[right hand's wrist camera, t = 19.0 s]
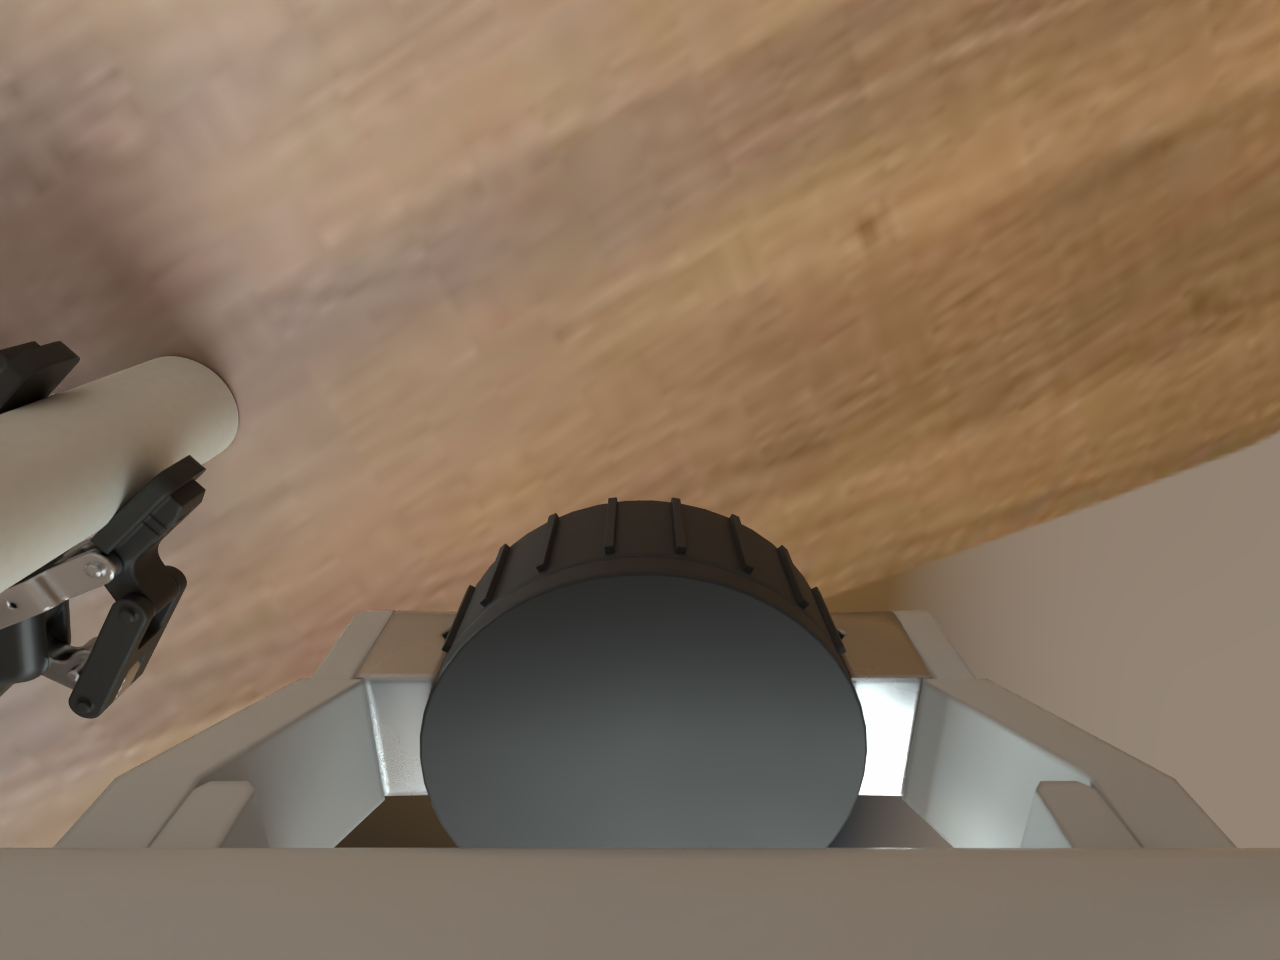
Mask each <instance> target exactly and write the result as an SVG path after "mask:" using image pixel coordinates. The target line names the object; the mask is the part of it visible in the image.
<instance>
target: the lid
mask: <svg viewBox="0 0 1280 960" xmlns="http://www.w3.org/2000/svg"><path fill="white" fill-rule="evenodd" d="M441 650H442V651H444V652H446V655H445V658H444V660H443V662H442V665H441V667H440V670H439V673H438V674H437V677H436V679H435V682H434V684H433V687H432V689H431V692H430V695H429V698H428V701H427V704H426V706H425V709H424V712H423V719H422V725H421V731H420V763H421V768H422V774H423V780H424V784H425V787H426V790H427V793H428V796H429V799H430V802H431V805H432V807H433V809H434V811H435V812H436V814H437V816H438V818H439V820H440V822H441V824H442V826H443V827H444V828H445V830H446V831H447V833H448V834H449V835H450V837H451V838H452V839H453V841H454V842H455V844H456V845H457V846H458V847H459V848H827V847H828V846H829V844H830V843H831V842H832V841H833V840H834V839H835V838H836V836H837V834H838V833H839V831H840V830H841V828H842V827H843V825H844V824H845V822H846V821H847V819H848V818H849V815H850V813H851V811H852V809H853V807H854V805H855V802H856V800H857V798H858V795H859V792H860V788H861V785H862V782H863V778H864V774H865V766H866V758H867V732H866V724H865V719H864V714H863V710H862V705H861V702H860V700H859V697H858V695H857V692H856V690H855V687H854V685H853V682H852V680H851V678H850V675H849V673H848V671H847V668H846V666H845V664H844V662H843V659H842V657H841V654H843V653H846V649H845V647H844V645H843V642H842V640H841V638H840V636H839V634H838V631H837V629H836V627H835V625H834V622H833V620H832V618H831V616H830V613H829V611H828V609H827V607H826V605H825V602H824V600H823V598H822V596H821V593H820V591H819V590H818V588H817V587H815V588H813V589H811V588H810V586H809V585H808V583H807V581H806V580H805V578H804V577H803V575H802V574H801V573H800V572H799V571H798V569H797V568H796V567H795V566H794V564H793V563H792V560H791V558H790V555H789V553H788V550H787V549H786V548H785V547H784V546H783V545H781V546H780V547H779V548H778V549H777V548H776V547H775V546H774V545H773V544H772V543H771V542H769V541H768V540H766V539H765V538H763V537H762V536H760V535H759V534H758V533H756V532H755V531H753V530H752V529H750V528H748V527H746V526H744V525H742V524H741V522H740V519H739V517H738V516H736V515H733V514H732V515H731V516H730V518H728V517H725V516H722V515H720V514H717V513H714V512H711V511H708V510H706V509H702V508H697V507H693V506H689V505H684V504H681V502H680V499H678V498H672V499H671V502H662V501H622V502H617V498H616V497H615V498H609V499H608V504H601V505H596V506H593V507H589V508H585V509H581V510H578V511H574V512H571V513H569V514H566V515H564V516H561V517H558V515H557V514H556V513H555V514H553V515H550V516H549V518H548V522H547V523H546V524H544V525H542V526H540V527H539V528H537V529H535V530H533V531H532V532H530V533H528V534H526V535H525V536H524V537H522V538H521V539H520V540H519V541H517V542H516V543H515V544H513V545H512V546H511V547H509V546H508V545H507V544H504V545H503V546H502V547H501V548H500V550H499V553H498V555H497V558H496V561H495V562H494V563H493V564H492V565H491V566H490V567H489V569H488V570H487V572H486V573H485V574H484V576H483V577H482V578H481V580H480V581H479V582H478V584H477V585H476V587H473V586H471V585H470V586H469V587H468V589H467V591H466V593H465V595H464V598H463V600H462V602H461V605H460V607H459V609H458V612H457V614H456V616H455V619H454V621H453V623H452V626H451V628H450V630H449V633H448V635H447V637H446V640H445V642H444V644H443V647H442V649H441Z"/></svg>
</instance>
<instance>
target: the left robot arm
mask: <svg viewBox="0 0 1280 960" xmlns="http://www.w3.org/2000/svg"><path fill="white" fill-rule="evenodd" d="M79 360H80V358H79V357H78V356H77V355H76V354H75V353H74V352H73V351H71V350H70V349H69V348H68V347H67V346H66V345H64V344H63V343H62V342H61V341H57V342H53V343H50V344H46V345H42V346H40V345H39V344H37V343H36V342H35V341H33V342H30V343H26V344H22V345H18V346H14V347H10V348H7V349H3V350H0V414H2V413H5V412H8V411H11V410H14V409H16V408H19V407H22V406H25V405H27V404H30V403H33V402H36V401H39V400H41V399H44V398H47V397H48V395H49V394H50V393H51V392H52V391H53V390H54V389H55V388H56V387H57V385H58V384H59V383H60V382H61V381H62V380H63V379H64V378H65V376H66V375H67V374H68V373H69V372H70V371H71V370H72V369H73V368H74V366H75V365H76V364H77V363H78V362H79ZM205 470H206V469H205V468H204V467H203V466H202V465H201V464H200V463H199V462H197V461H196V460H195V459H194V458H193V457H192V456H191V455H188V456H186V457H185V458H183V459H181V460H180V461H178V462H176V463H175V464H173V465H171V466H170V467H168V468H166V469H165V470H163V471H162V472H160V473H159V474H158V475H156V476H155V477H154V478H153V479H151V480H150V481H149V482H148V483H147V484H146V485H145V486H144V487H143V488H142V489H141V490H140V491H139V492H138V493H137V494H136V495H135V496H134V497H133V498H132V499H131V500H130V501H129V502H128V503H127V504H126V505H125V506H124V507H123V508H122V509H121V510H120V511H119V512H118V513H117V514H116V515H115V516H114V517H113V518H112V519H111V520H110V521H109V522H108V523H107V524H106V525H105V526H104V527H103V528H102V529H101V530H100V531H99V532H98V533H97V534H96V535H95V536H94V537H92V538H90V539H87V540H85V541H82V542H80V543H78V544H77V545H75V546H73V547H72V548H70V549H69V550H67V551H66V552H64V553H63V554H61V555H59V556H58V557H56V558H55V559H53V560H52V561H50V562H48V563H47V564H45V565H44V566H42V567H41V568H39V569H37V570H36V571H34V572H33V573H31V574H30V575H28V576H26V577H25V578H23V579H22V580H20V581H19V582H17V583H15V584H14V585H12V586H11V587H9V588H8V589H6V590H4V591H3V592H1V593H0V696H1V695H2V694H4V693H5V692H6V691H7V690H8V689H9V688H10V687H11V686H12V685H13V684H15V683H20V682H26V681H30V680H33V679H35V678H37V677H39V676H40V675H43V676H45V677H47V678H49V679H51V680H54V681H56V682H58V683H60V684H62V685H64V686H66V687H69V688H71V689H73V691H72V693H71V696H70V698H69V706H70V708H71V709H72V710H73V711H74V712H75V713H76V714H77V715H79V716H81V717H84V718H96V717H98V716H99V715H100V714H101V713H102V712H103V711H104V710H106V709H107V708H108V707H109V706H110V705H111V704H112V703H113V702H114V701H115V700H116V699H117V698H118V697H119V696H120V695H121V694H122V693H123V692H124V691H125V690H126V689H127V688H128V687H129V686H130V685H131V684H132V683H133V682H134V681H135V680H136V679H137V678H138V677H139V676H140V675H141V674H142V673H143V671H144V669H145V667H146V665H147V663H148V661H149V659H150V657H151V655H152V653H153V651H154V649H155V647H156V645H157V643H158V641H159V639H160V637H161V636H162V634H163V632H164V630H165V628H166V626H167V624H168V622H169V620H170V618H171V616H172V614H173V612H174V610H175V608H176V606H177V604H178V602H179V600H180V598H181V596H182V594H183V592H184V590H185V588H186V585H187V581H186V578H185V576H184V574H183V573H182V572H181V571H180V570H178V569H177V568H175V567H172V566H165V565H164V564H163V562H162V561H161V559H160V557H159V554H158V546H159V543H160V541H161V540H162V539H163V538H164V537H165V536H166V535H167V534H168V533H169V532H171V531H172V530H173V529H174V528H175V527H176V526H177V525H178V524H179V523H180V522H181V521H182V520H183V519H184V518H185V517H186V516H187V515H188V514H189V513H190V512H191V511H193V510H194V509H195V508H196V507H197V506H198V505H199V504H200V503H201V502H202V499H203V496H204V493H205V489H204V488H203V487H202V486H201V485H200V484H198V483H197V482H196V481H195V480H196V479H197V478H198V477H199V476H200V475H201V474H202V473H203V472H204V471H205ZM102 585H104V586H105V587H106V588H107V590H108V591H109V592H110V594H111V595H112V597H113V598H114V599H115V601H116V602H115V603H114V604H113V605H112V607H111V609H110V611H109V613H108V616H107V618H106V620H105V622H104V624H103V626H102V629H101V631H100V633H99V635H98V637H94V638H92V639H91V640H90V641H88V642H87V643H86V644H85V645H83V646H82V647H73V646H70V644H71V630H70V614H69V599H70V598H72V597H75V596H77V595H80V594H82V593H85V592H87V591H90V590H92V589H95V588H97V587H100V586H102Z"/></svg>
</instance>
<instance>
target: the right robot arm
mask: <svg viewBox="0 0 1280 960" xmlns="http://www.w3.org/2000/svg"><path fill="white" fill-rule="evenodd" d="M456 614H457V612H437V611H397V612H396V611H394V610H377V611H361V612H358V613H356V614H355V615H354V617H353V618H352V620H351V621H350V622H349V624H348V625H347V627H346V628H345V630H344V631H343V633H342V634H341V636H340V637H339V639H338V640H337V642H336V643H335V645H334V646H333V647H332V649H331V650H330V652H329V653H328V655H327V656H326V658H325V659H324V661H323V662H322V664H321V665H320V667H319V668H318V669H317V671H316V672H315V674H314V675H313V677H312V678H311V679H299V680H297V681H295V682H293V683H291V684H290V685H288V686H286V687H284V688H282V689H280V690H278V691H276V692H275V693H273V694H271V695H269V696H267V697H265V698H263V699H262V700H260V701H258V702H256V703H254V704H252V705H250V706H249V707H247V708H245V709H243V710H241V711H239V712H237V713H236V714H234V715H232V716H230V717H228V718H226V719H224V720H223V721H221V722H219V723H217V724H215V725H213V726H211V727H210V728H208V729H206V730H204V731H202V732H200V733H198V734H196V735H195V736H193V737H191V738H189V739H187V740H185V741H183V742H182V743H180V744H178V745H176V746H174V747H172V748H170V749H169V750H167V751H165V752H163V753H161V754H159V755H157V756H156V757H154V758H152V759H150V760H148V761H146V762H144V763H143V764H141V765H139V766H137V767H135V768H133V769H131V770H129V771H128V772H126V773H124V774H122V775H120V776H118V777H116V778H115V779H114V781H113V782H112V783H111V784H110V785H109V786H108V787H107V788H106V789H105V791H104V792H103V793H102V794H101V795H100V796H99V797H98V798H97V799H96V801H95V802H94V803H93V804H92V805H91V806H90V807H89V808H88V809H87V811H86V812H85V813H84V814H83V815H82V816H81V817H80V818H79V819H78V821H77V822H76V823H75V824H74V825H73V826H72V827H71V828H70V830H69V831H68V832H67V833H66V834H65V835H64V836H63V837H62V838H61V840H60V841H59V842H58V843H57V844H56V845H55V846H54V847H53V848H0V960H1280V848H1237V847H1236V846H1235V845H1234V844H1233V842H1232V841H1231V840H1230V839H1229V838H1228V837H1227V836H1226V835H1225V834H1224V833H1223V831H1222V830H1221V829H1220V828H1219V827H1218V826H1217V825H1216V824H1215V823H1214V821H1213V820H1212V819H1211V818H1210V817H1209V816H1208V815H1207V814H1206V813H1205V812H1204V810H1203V809H1202V808H1201V807H1200V806H1199V805H1198V804H1197V803H1196V802H1195V801H1194V800H1193V798H1192V797H1191V796H1190V795H1189V794H1188V793H1187V792H1186V791H1185V790H1184V788H1183V787H1182V786H1181V785H1180V784H1179V783H1178V782H1177V781H1176V780H1175V779H1174V778H1172V777H1170V776H1168V775H1167V774H1165V773H1163V772H1161V771H1159V770H1157V769H1155V768H1154V767H1152V766H1150V765H1148V764H1146V763H1144V762H1142V761H1140V760H1139V759H1137V758H1135V757H1133V756H1131V755H1129V754H1127V753H1125V752H1124V751H1122V750H1120V749H1118V748H1116V747H1114V746H1112V745H1110V744H1109V743H1107V742H1105V741H1103V740H1101V739H1099V738H1097V737H1095V736H1094V735H1092V734H1090V733H1088V732H1086V731H1084V730H1082V729H1080V728H1079V727H1077V726H1075V725H1073V724H1071V723H1069V722H1067V721H1066V720H1064V719H1062V718H1060V717H1058V716H1056V715H1054V714H1052V713H1051V712H1049V711H1047V710H1045V709H1043V708H1041V707H1039V706H1037V705H1036V704H1034V703H1032V702H1030V701H1028V700H1026V699H1024V698H1022V697H1021V696H1019V695H1017V694H1015V693H1013V692H1011V691H1009V690H1007V689H1006V688H1004V687H1002V686H1000V685H998V684H996V683H994V682H992V681H991V680H989V679H976V678H975V676H974V675H973V673H972V672H971V671H970V669H969V668H968V666H967V665H966V663H965V662H964V661H963V659H962V658H961V656H960V655H959V653H958V652H957V651H956V649H955V648H954V646H953V645H952V643H951V642H950V641H949V639H948V638H947V636H946V635H945V634H944V632H943V631H942V629H941V628H940V626H939V625H938V624H937V622H936V621H935V619H934V618H933V616H932V615H931V614H930V613H929V612H927V611H925V610H910V611H884V612H844V613H830V616H831V618H832V620H833V622H834V625H835V627H836V629H837V631H838V634H839V636H840V638H841V640H842V642H843V645H844V647H845V649H846V653H843V654H841V657H842V659H843V662H844V664H845V666H846V668H847V671H848V673H849V675H850V678H851V680H852V682H853V685H854V687H855V690H856V692H857V695H858V697H859V700H860V702H861V705H862V710H863V714H864V719H865V724H866V732H867V758H866V766H865V774H864V778H863V782H862V785H861V788H860V792H859V795H887V796H902V799H903V800H904V801H905V802H906V803H907V804H908V805H909V806H910V807H911V808H912V809H913V810H914V811H915V812H917V813H918V814H919V815H920V816H921V817H922V818H923V819H924V820H925V821H926V822H927V823H928V824H929V825H930V826H932V827H933V828H934V829H935V830H936V831H937V832H938V833H939V834H940V835H941V836H942V837H943V838H944V839H945V840H947V841H948V842H949V843H950V844H951V845H952V846H953V847H954V848H334V847H335V846H336V845H337V844H338V843H339V842H340V841H341V840H342V839H343V838H344V837H345V836H347V835H348V834H349V833H350V832H351V831H352V830H353V829H354V828H355V827H356V826H357V825H358V824H359V823H360V822H361V821H362V820H363V819H365V818H366V817H367V816H368V815H369V814H370V813H371V812H372V811H373V810H374V809H375V808H376V807H377V806H378V805H379V804H381V803H382V802H383V801H384V800H385V797H384V796H399V795H428V793H427V790H426V787H425V784H424V780H423V774H422V768H421V763H420V731H421V725H422V719H423V712H424V709H425V706H426V704H427V701H428V698H429V695H430V692H431V689H432V687H433V684H434V682H435V679H436V677H437V674H438V673H439V670H440V667H441V665H442V662H443V660H444V658H445V655H446V652H444V651H442V650H441V649H442V647H443V644H444V642H445V640H446V637H447V635H448V633H449V630H450V628H451V626H452V623H453V621H454V619H455V616H456Z"/></svg>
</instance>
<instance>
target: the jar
mask: <svg viewBox="0 0 1280 960" xmlns="http://www.w3.org/2000/svg"><path fill="white" fill-rule="evenodd" d="M238 420H239V417H238V409H237V405H236V402H235V400H234V397H233V395H232V393H231V391H230V390H229V388H228V387H227V385H226V384H225V383H224V382H223V381H222V379H221V378H220V377H219V376H218V375H217V374H215V373H214V372H213V371H212V370H210V369H209V368H207V367H206V366H204V365H202V364H200V363H198V362H196V361H193V360H190V359H187V358H183V357H176V356H165V357H159V358H156V359H152V360H150V361H147V362H144V363H141V364H139V365H136V366H133V367H130V368H127V369H125V370H122V371H119V372H116V373H114V374H111V375H108V376H105V377H102V378H100V379H97V380H94V381H91V382H89V383H86V384H83V385H80V386H77V387H75V388H72V389H69V390H66V391H64V392H61V393H58V394H55V395H52V396H50V397H47V398H44V399H41V400H39V401H36V402H33V403H30V404H27V405H25V406H22V407H19V408H16V409H14V410H11V411H8V412H5V413H2V414H0V593H1V592H3V591H4V590H6V589H8V588H9V587H11V586H12V585H14V584H15V583H17V582H19V581H20V580H22V579H23V578H25V577H26V576H28V575H30V574H31V573H33V572H34V571H36V570H37V569H39V568H41V567H42V566H44V565H45V564H47V563H48V562H50V561H52V560H53V559H55V558H56V557H58V556H59V555H61V554H63V553H64V552H66V551H67V550H69V549H70V548H72V547H73V546H75V545H77V544H78V543H80V542H81V541H83V540H84V539H86V538H88V537H89V536H91V535H92V534H94V533H95V532H97V531H99V530H100V529H102V528H103V527H104V526H105V525H106V524H107V523H108V522H109V521H110V520H111V519H112V518H113V517H114V516H115V515H116V514H117V513H118V512H119V511H120V510H121V509H122V508H123V507H124V506H125V505H126V504H127V503H128V502H129V501H130V500H131V499H132V498H133V497H134V496H135V495H136V494H137V493H138V492H139V491H140V490H141V489H142V488H143V487H144V486H145V485H146V484H147V483H148V482H149V481H150V480H151V479H153V478H154V477H155V476H156V475H158V474H159V473H160V472H162V471H163V470H165V469H166V468H168V467H170V466H171V465H173V464H175V463H176V462H178V461H180V460H181V459H183V458H185V457H186V456H188V455H191V456H192V457H193V458H194V459H195V460H196V461H197V462H199V463H200V464H201V465H202V464H204V463H205V462H207V461H209V460H210V459H212V458H213V457H215V456H216V455H218V454H219V453H221V452H223V451H224V450H225V449H226V448H227V447H228V446H229V445H230V444H231V443H232V441H233V439H234V438H235V435H236V432H237V429H238Z"/></svg>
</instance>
